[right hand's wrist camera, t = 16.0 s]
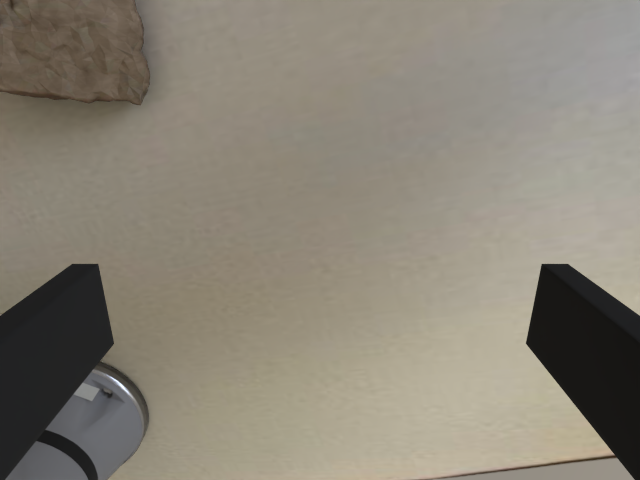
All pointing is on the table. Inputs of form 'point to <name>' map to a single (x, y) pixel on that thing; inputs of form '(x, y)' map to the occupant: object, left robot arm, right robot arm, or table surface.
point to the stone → (73, 50)
